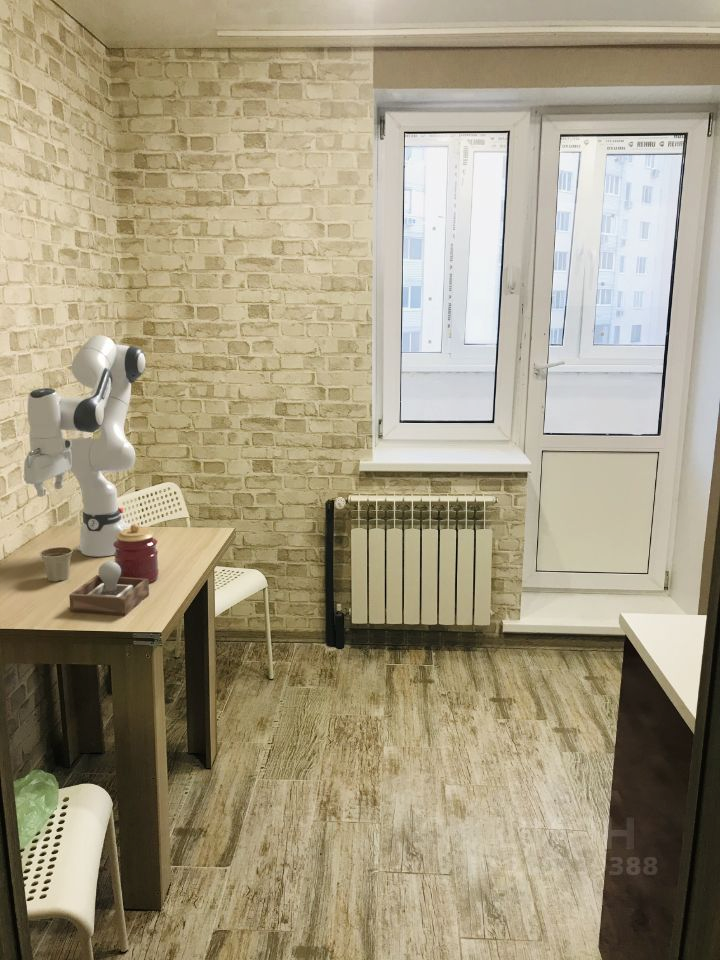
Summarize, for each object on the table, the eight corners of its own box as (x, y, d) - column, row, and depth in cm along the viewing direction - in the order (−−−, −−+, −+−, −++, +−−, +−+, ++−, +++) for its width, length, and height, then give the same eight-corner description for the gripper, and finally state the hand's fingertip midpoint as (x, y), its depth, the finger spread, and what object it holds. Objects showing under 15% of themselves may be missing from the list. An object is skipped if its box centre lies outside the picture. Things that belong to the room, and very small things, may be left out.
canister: (114, 588, 234) (111, 531, 230) (115, 573, 246) (112, 519, 242) (159, 584, 238) (157, 528, 234) (158, 570, 250) (156, 517, 246)
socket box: (97, 591, 231) (96, 575, 230) (149, 594, 229) (148, 578, 228) (70, 611, 216) (69, 594, 215) (125, 616, 214) (124, 598, 213)
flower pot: (38, 584, 236) (36, 557, 234) (45, 573, 245) (43, 547, 243) (71, 583, 238) (69, 556, 236) (77, 572, 247) (75, 546, 245)
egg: (110, 592, 228) (108, 557, 225) (127, 596, 225) (125, 560, 223) (95, 600, 222) (93, 563, 220) (112, 603, 220) (110, 566, 217)
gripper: (37, 453, 215) (41, 501, 218) (74, 440, 235) (77, 484, 238) (16, 452, 216) (20, 500, 219) (54, 439, 236) (58, 483, 239)
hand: (50, 492), depth 229 cm, fingers open, 8 cm apart
